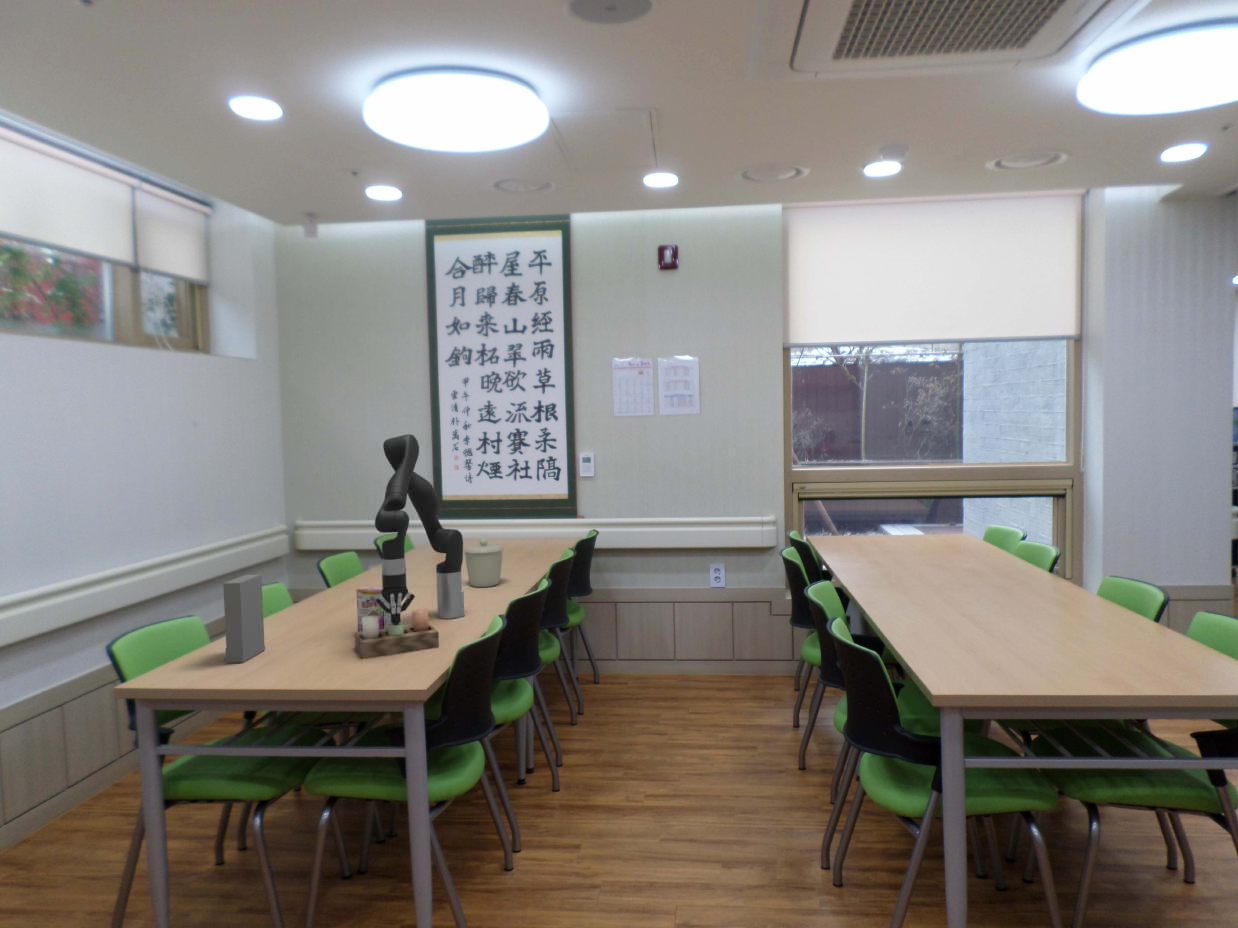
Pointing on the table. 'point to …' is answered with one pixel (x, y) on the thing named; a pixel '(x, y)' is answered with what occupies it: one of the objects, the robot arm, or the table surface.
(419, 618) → the pink candle
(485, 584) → the canister
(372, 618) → the button cream
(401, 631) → the green pillar candle
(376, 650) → the button board
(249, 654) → the upright grey tower
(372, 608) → the candy bar box
